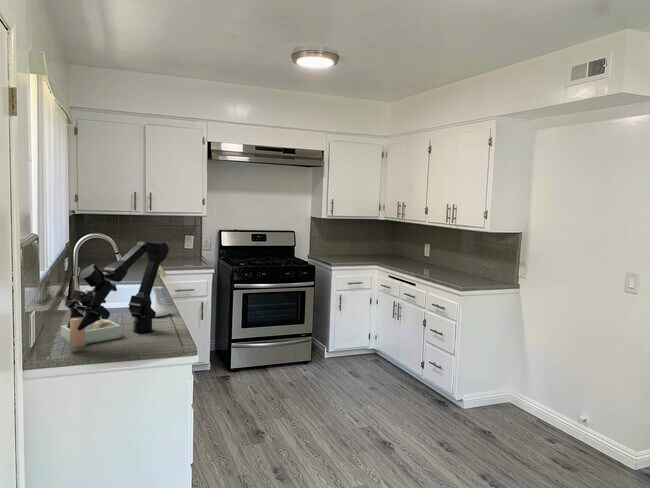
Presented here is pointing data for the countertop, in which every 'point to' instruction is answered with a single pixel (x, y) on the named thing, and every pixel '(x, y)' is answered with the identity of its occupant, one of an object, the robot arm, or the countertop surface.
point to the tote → (94, 333)
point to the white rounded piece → (158, 306)
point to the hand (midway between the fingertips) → (73, 328)
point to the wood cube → (102, 324)
